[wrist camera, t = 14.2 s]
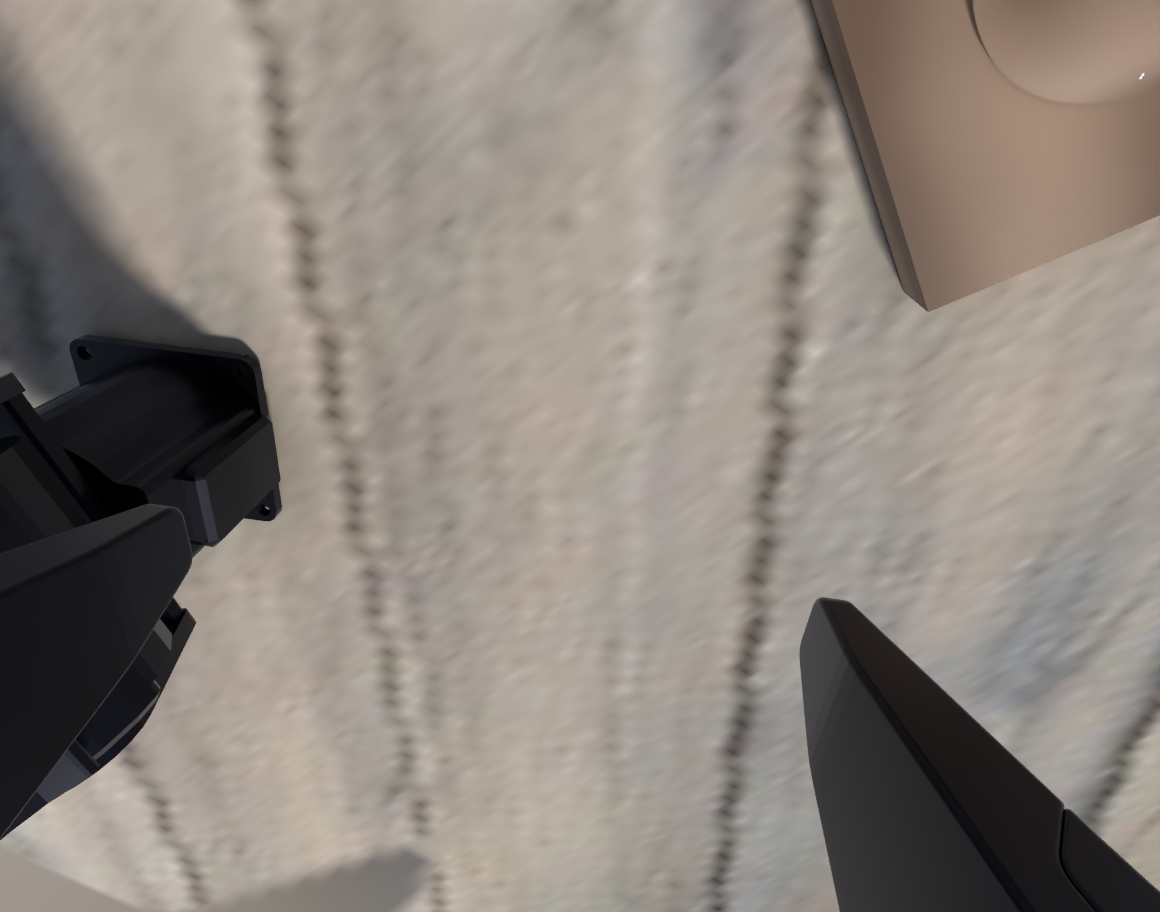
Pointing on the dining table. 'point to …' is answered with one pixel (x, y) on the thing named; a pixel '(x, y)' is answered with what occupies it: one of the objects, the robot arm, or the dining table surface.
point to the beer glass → (1074, 47)
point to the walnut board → (979, 149)
